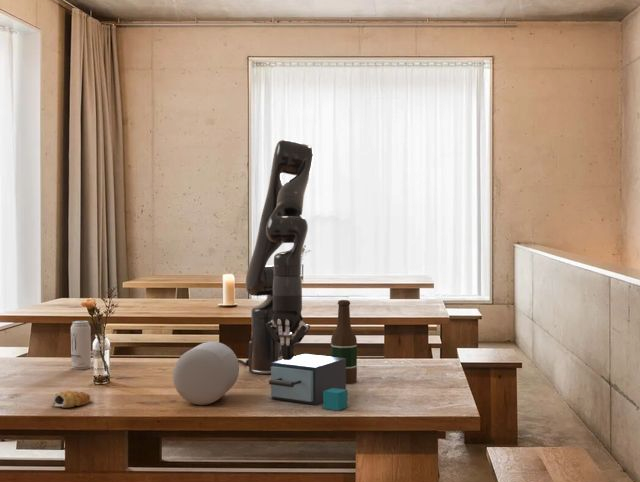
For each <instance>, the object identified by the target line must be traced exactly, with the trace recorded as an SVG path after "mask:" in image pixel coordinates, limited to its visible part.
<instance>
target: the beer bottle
mask: <svg viewBox="0 0 640 482" xmlns="http://www.w3.org/2000/svg"><path fill="white" fill-rule="evenodd" d="M337 305H338V310H337V324H336V328H335V329H334V331H333V332H332V335H331V338H330V339H331V340H330V357H338V358H346V385H348V384H353V383H356V382H357V380H358V379H357V377H358V340H357V336H356V334H355V331H354V329H352V324H351V312H350V305H351V301H350V300H348V299H340V300H338V301H337Z"/></svg>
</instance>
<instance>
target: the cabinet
mask: <svg viewBox="0 0 640 482" xmlns="http://www.w3.org/2000/svg"><path fill="white" fill-rule="evenodd" d="M273 366H276V367H287V368H295V369H304V370H312V371H313V401H312V402H309V401H302V400H295V399H287V398H280V397H273V396H271V399H272V400H277V401H278V400H279V401H284V402H285V401H286V402H293V403H299V404H306V405H307V404H308V405H319V404H321V403H323V391H325V390H328V389H331V388H337V389H345V390H347V384H346V358H338V357H331V356H327V355H317V354H309V353H302V354H298V355H296V356H295V355H294V356H293V357H292V359H291V360H284V359H283V358H282V360H279V361H275V362H272V367H273Z"/></svg>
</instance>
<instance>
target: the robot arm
mask: <svg viewBox="0 0 640 482" xmlns="http://www.w3.org/2000/svg"><path fill="white" fill-rule="evenodd" d="M313 162H314V150H313V147H312V146H310V145H309V144H305V143H301V142H295V141H292V140H286V139H280V140H279V141H278V142H277V144H276V146H275V148H274V153H273V157H272V163H271V164H272V165H271V170H270V175H269V182H268V188H267V193H266V196H265V201H264V204H263V209H262V213H261V217H260V222H259V226H258V233H257V236H256V241H255V246H254V249H253V252H252V256H251V259H250V262H249V265H248V268H247V271H246V276H245V289H246V291H247V293H248V294H249V295H250V296H254V297H255V296H256V297H260V296H261V297H262V296H263V297H264V296H266V299H265V300H264V301H263V302H262V303H260V304H258V305H255V306H254V307H252V309H251V313H250V314H251V315H250V316H251V340H249V342H248V357H247V359H246V360H245V361H244V360H242V359H238V358H237V360H238V363H239V364H242V365H245V366H248V372H249V373H253V374H256V375H258V374H259V375H271V367H272V362H275V361H279V360H283V359H284V360H291V359H292V357H294V356H295V345H296V344H300V343H301V342H302V340H303V339H304V338H305V336H306V334H308V332H309V330H310V329H311V325H310V324H307V323H305V322H304V321H303V316H302V310H303V283H302V282H303V281H302V254H303V249H304V246H305V245H304V244H305V241H306V239H307V235H308V231H309V225H308V224H309V223H308V222H307V220H306V219H305V217H303V216H302V215H303V211H304V199H305V193H306V190H307V187H308V183H309V180H310V176H311V172H312V167H313ZM283 174H287V175H292V176H294V177H292V178H291V179H290V180H288V181H287V182H286V183H284V184H283V179H282V175H283ZM283 244H293V246H292V247H291V249H289V250H286V251H281V252H278V253H277V252H276V251H277V250H279V248H280V247H281V246H282V245H283ZM275 252H276V254H274V253H275ZM273 254H274V256H273V265H267V263H268V261H269V260H270V258H271V256H272V255H273ZM297 330H298V331H297Z"/></svg>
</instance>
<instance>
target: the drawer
mask: <svg viewBox="0 0 640 482" xmlns="http://www.w3.org/2000/svg"><path fill="white" fill-rule="evenodd" d="M268 385H270V397H272V396H273V397H280V398H287V399H295V400H302V401H309V402H312V401H313V371H312V370H304V369H295V368H287V367H276V366H273V367H271V374H270V379H269V380H268Z"/></svg>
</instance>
